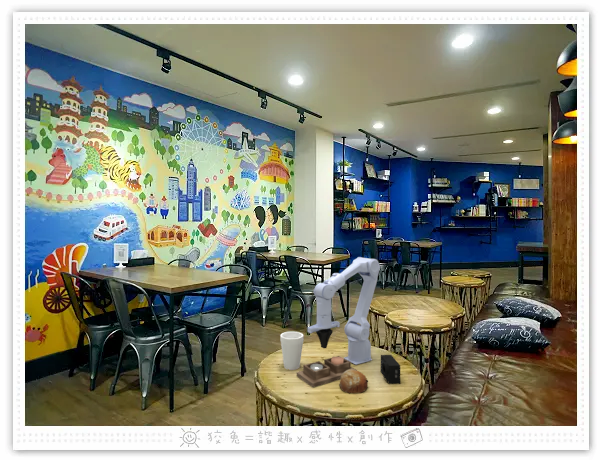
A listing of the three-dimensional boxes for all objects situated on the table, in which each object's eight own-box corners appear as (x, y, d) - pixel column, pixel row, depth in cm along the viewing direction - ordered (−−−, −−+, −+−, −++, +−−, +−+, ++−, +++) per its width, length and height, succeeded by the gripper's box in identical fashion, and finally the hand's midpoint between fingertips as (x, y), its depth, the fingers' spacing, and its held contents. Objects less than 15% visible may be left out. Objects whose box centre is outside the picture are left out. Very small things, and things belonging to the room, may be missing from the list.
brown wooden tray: (339, 364, 147) (339, 353, 147) (357, 374, 138) (357, 362, 138) (296, 376, 136) (296, 364, 135) (312, 387, 126) (312, 375, 126)
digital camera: (377, 372, 140) (377, 354, 140) (390, 371, 140) (391, 354, 140) (385, 384, 129) (386, 365, 129) (400, 383, 130) (400, 365, 130)
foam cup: (300, 372, 139) (300, 339, 138) (277, 370, 141) (277, 338, 140) (305, 362, 148) (305, 332, 148) (283, 361, 150) (283, 330, 150)
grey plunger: (318, 370, 137) (318, 362, 137) (325, 375, 133) (325, 367, 133) (307, 373, 135) (307, 365, 135) (315, 378, 131) (315, 370, 131)
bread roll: (343, 390, 132) (334, 371, 132) (368, 379, 132) (359, 359, 132) (345, 404, 122) (335, 383, 122) (372, 392, 122) (363, 371, 122)
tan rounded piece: (338, 363, 143) (338, 355, 142) (345, 367, 139) (346, 359, 138) (328, 365, 140) (328, 358, 140) (336, 370, 136) (336, 362, 136)
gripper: (332, 308, 147) (332, 340, 148) (303, 314, 140) (303, 348, 140) (342, 312, 142) (342, 346, 142) (313, 318, 134) (313, 353, 134)
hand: (323, 347), depth 141 cm, fingers closed
